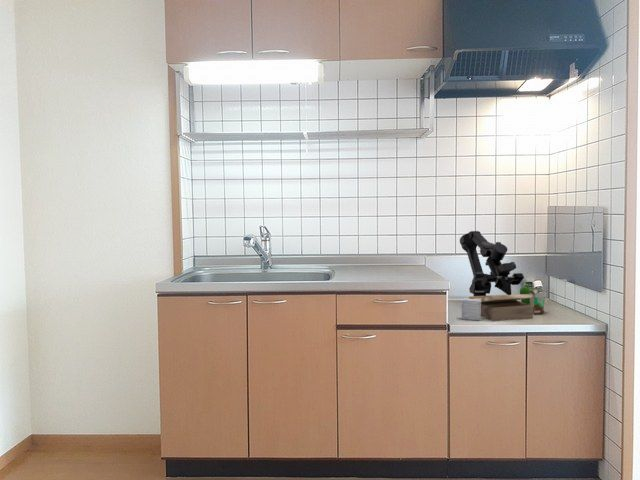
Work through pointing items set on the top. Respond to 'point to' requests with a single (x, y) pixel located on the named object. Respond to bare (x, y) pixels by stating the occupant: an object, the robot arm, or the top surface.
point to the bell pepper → (526, 291)
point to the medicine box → (471, 309)
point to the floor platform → (504, 309)
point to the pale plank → (506, 298)
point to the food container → (537, 300)
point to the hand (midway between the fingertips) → (510, 295)
